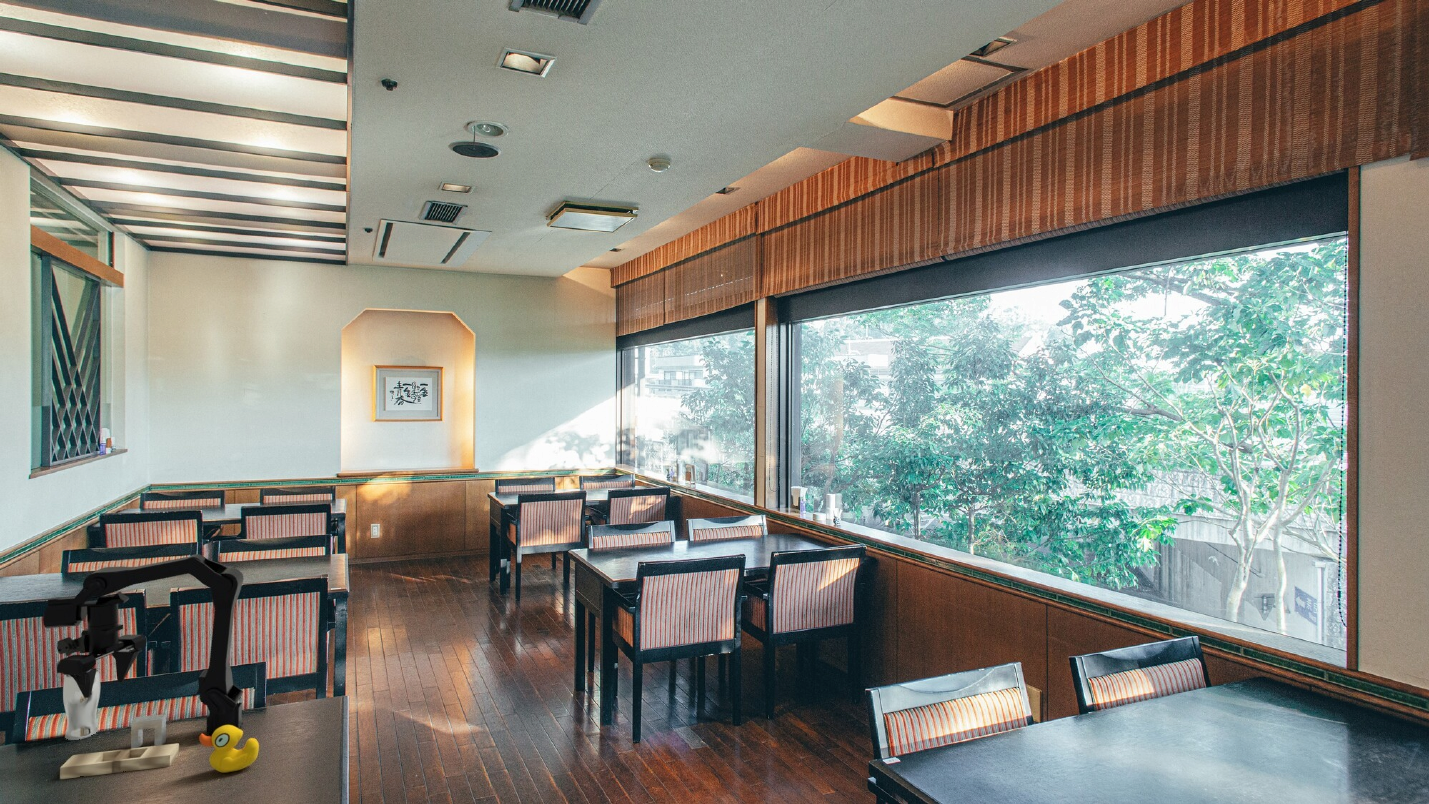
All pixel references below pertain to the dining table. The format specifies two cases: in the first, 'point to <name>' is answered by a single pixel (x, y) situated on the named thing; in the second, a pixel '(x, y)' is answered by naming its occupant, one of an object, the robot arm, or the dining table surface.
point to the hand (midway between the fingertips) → (104, 689)
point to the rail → (119, 761)
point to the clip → (148, 723)
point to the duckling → (230, 749)
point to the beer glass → (80, 708)
